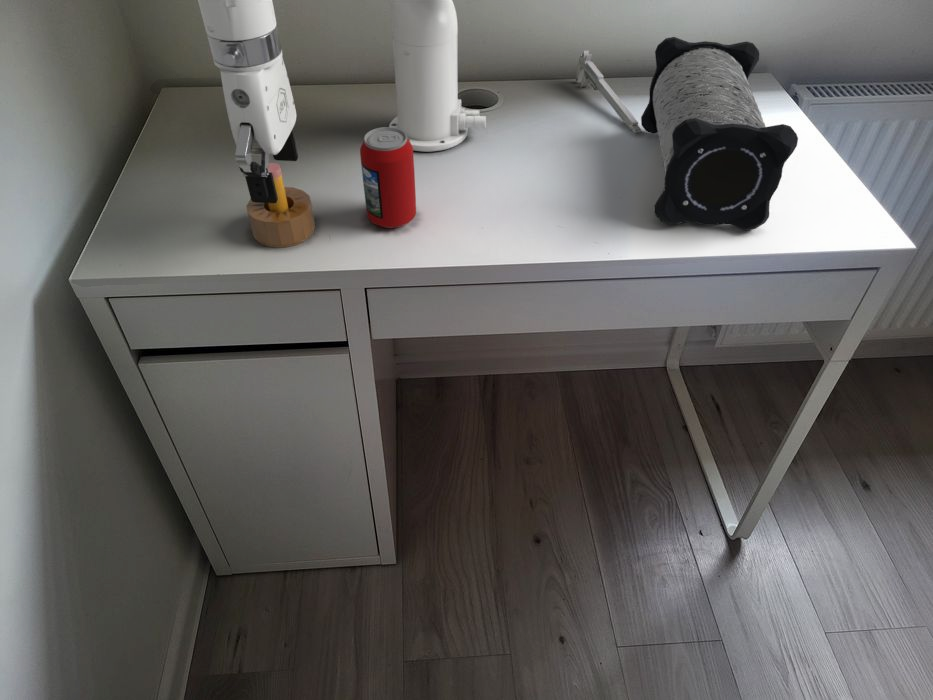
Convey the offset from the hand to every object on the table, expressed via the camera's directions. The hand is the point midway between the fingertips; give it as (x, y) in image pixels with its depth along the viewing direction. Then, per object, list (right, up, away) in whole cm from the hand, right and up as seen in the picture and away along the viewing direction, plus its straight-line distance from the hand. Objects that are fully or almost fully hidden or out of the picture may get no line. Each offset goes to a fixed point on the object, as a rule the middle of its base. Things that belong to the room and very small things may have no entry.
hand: (276, 179), depth 90 cm
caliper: (+48, +20, +31) cm, 60 cm away
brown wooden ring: (0, -5, +5) cm, 7 cm away
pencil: (0, -5, +5) cm, 7 cm away
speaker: (+58, +4, +15) cm, 60 cm away
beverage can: (+14, -4, +7) cm, 16 cm away
